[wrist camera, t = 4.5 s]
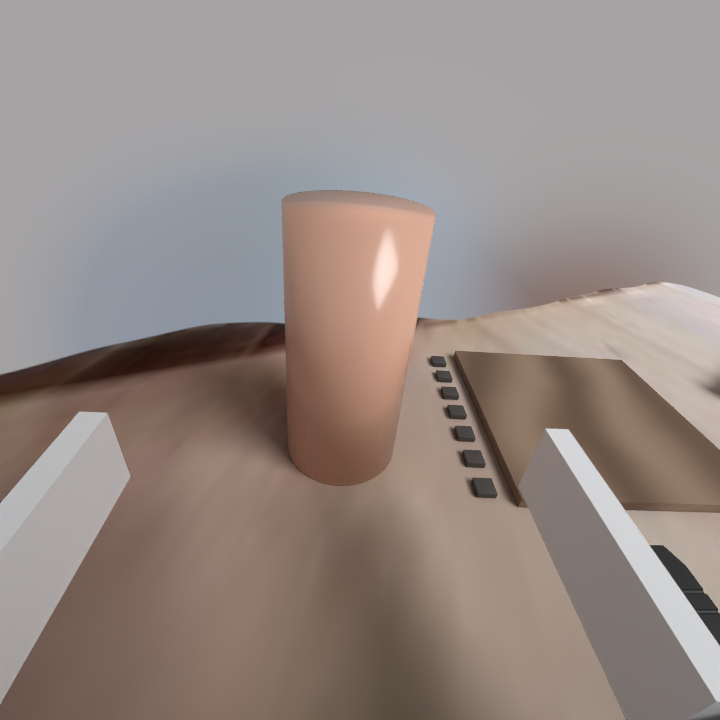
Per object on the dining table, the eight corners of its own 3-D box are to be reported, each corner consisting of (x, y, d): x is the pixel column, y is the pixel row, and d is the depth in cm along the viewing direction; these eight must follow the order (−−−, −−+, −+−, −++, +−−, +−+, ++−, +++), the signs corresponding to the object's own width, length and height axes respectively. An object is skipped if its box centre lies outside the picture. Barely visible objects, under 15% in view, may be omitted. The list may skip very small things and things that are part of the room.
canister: (388, 411, 25) (422, 196, 18) (398, 487, 20) (451, 231, 13) (294, 406, 25) (291, 185, 17) (281, 483, 19) (269, 217, 12)
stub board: (618, 365, 32) (621, 360, 32) (774, 513, 20) (781, 506, 20) (429, 355, 31) (430, 349, 31) (479, 505, 19) (482, 498, 19)
